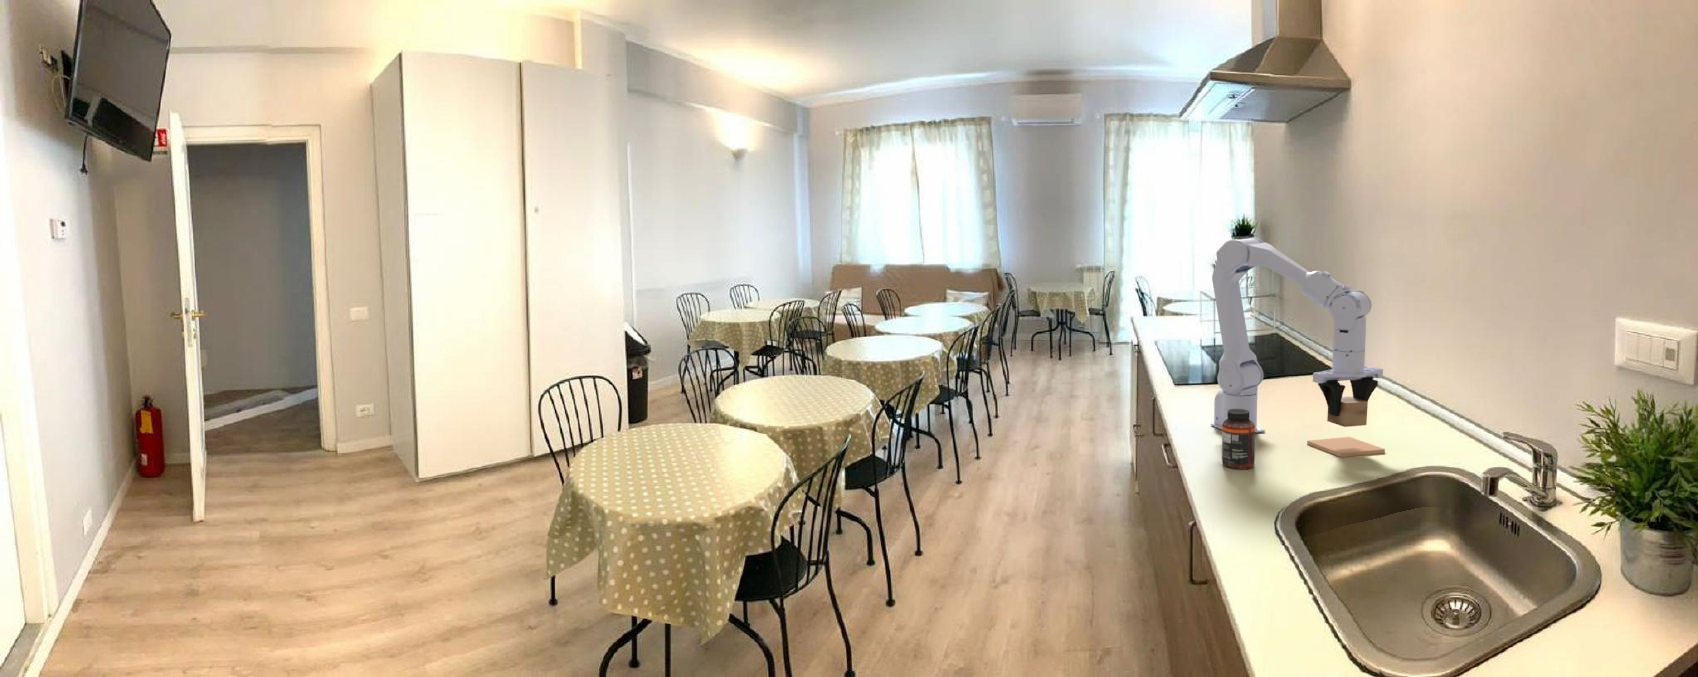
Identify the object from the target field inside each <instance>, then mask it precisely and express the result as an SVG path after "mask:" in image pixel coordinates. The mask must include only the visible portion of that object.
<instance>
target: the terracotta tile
mask: <svg viewBox="0 0 1698 677" xmlns="http://www.w3.org/2000/svg"><path fill="white" fill-rule="evenodd" d="M1306 442H1307V443H1306V445H1308V446H1309V447H1310V446H1311V447H1313V448H1316V449H1318V450H1321V451H1324V452H1326V453H1329V454H1331V455H1335V456H1336V457H1339V458H1344V457H1345V458H1346V457H1347V458H1348V457H1355V456H1365V455H1375V454H1376V455H1377V454H1384V453H1386V449H1385V448H1383V447H1380V446H1377V445H1374V444H1372V443H1368V442H1365V441H1363V440H1360V439H1357V438H1354V437H1350V436H1344V437H1333V438H1323V439H1312V440H1310V439H1309V440H1307V441H1306Z"/></svg>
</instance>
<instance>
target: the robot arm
mask: <svg viewBox="0 0 1698 677" xmlns="http://www.w3.org/2000/svg"><path fill="white" fill-rule="evenodd" d="M1215 255H1216V261H1215V266H1214V269H1213V273H1212V276H1211V279H1212V286H1213V292H1214V297H1215V298H1214V299H1215V305H1216V311H1217V316H1218V323H1219V324H1218V325H1219V329H1220V335H1221V342H1222V343H1221V344H1222V347H1223V353H1222V355H1221V358H1220V359H1219V361H1218V366H1219V367H1218V368H1219V369H1218V370H1219V371H1218V373H1217V377H1216V378H1217V384H1218V387H1219V388H1221V389H1220V390H1219V391H1218V392H1217V393H1216V394H1215V397H1214V409H1213V410H1214V412H1213V413H1214V414H1213V415H1214V416H1213V421H1214V422H1211V423H1210V425H1211V426H1212V427H1215V428H1217V429H1219V430H1222V424H1223V422H1224V421H1225V420H1227V419H1228V417H1227V415H1228V410H1230V409H1245V410H1248V411H1249V412H1250V413H1249V416H1250V417H1249V420H1250V421H1252V422H1253V423H1254V425H1255V434H1256V433H1265V432H1266V429H1264V428H1262V427H1259V426H1257V425H1258V421H1257V420H1258V386H1259V385H1261V384H1262V382H1263V380H1264V371H1263V368H1262V367H1261V365H1259V362H1258V359H1257V355H1256V354H1255V353H1254V352H1253V350H1251V348H1250V344H1249V337H1248V331H1247V326H1246V317H1245V311H1244V306H1243V300H1242V299H1243V298H1242V294H1241V288H1240V281H1241V280H1242V278H1243V277H1244V276H1245V275H1246V274H1247V273H1248V272H1249V271H1250V270H1252V269H1253V268H1255V267H1264V268H1265V267H1266V268H1269V269H1270V270H1272V271H1273V272H1275V273H1276V274H1279V275H1281V276H1283V277H1285V278H1286V279H1289V280H1291V281H1292V282H1293V283H1295V284H1297V285H1299V290H1300V293H1301V294H1302V295H1304V296H1305V297H1308V299H1310V300H1312V301H1313V302H1316V303H1317V304H1319V305H1320V306H1321V307H1323V308H1325V309H1326V310H1328V312H1329V314H1330V316H1331V317H1332V319H1333V338H1332V366H1331V367H1332V368H1331V369H1327V370H1323V371H1317V372H1312V382H1313V383H1317V385H1318V387H1319V389H1320V391H1321V392H1322V395H1323V397H1324V399H1325V401H1326V405H1327V410H1328V409H1329V414H1330V415H1333V416H1339V415H1340V409H1341V399H1342V397H1343V394H1344V391H1345V389H1346V386H1345V385H1343V384H1341V383H1340V382H1343V381H1350V386H1351V392H1352V397H1353V398H1357V399H1361V400H1364V401H1368V402H1369V400H1370V398H1371V396H1372V393H1373V392H1374V391H1375V390H1376V388H1378V385H1379V380H1376V379H1383V376H1384V369H1383V368H1378V367H1365V362H1366V361H1365V360H1366V336H1367V335H1366V334H1367V328H1366V327H1367V315H1369V314H1370V312H1371V309H1372V306H1373V304H1372V299H1371V298H1370V297H1369V295H1368V294H1366V293H1365V292H1364V291H1363V290H1360V289H1359V290H1358V289H1354V290H1351V289H1352V286H1350V285H1348V284H1345V285H1344V284H1343V283H1341V282H1339V281H1337V280H1336V279H1335V278H1332V277H1331V276H1332V274H1331V273H1330V272H1329V271H1327V270H1325V271H1320V270H1314V271H1309V270H1307V269H1306V268H1305V267H1303V266H1302V265H1300V264H1299V263H1297V262H1296V261H1294V260H1293V259H1291V258H1290V257H1288V256H1287V255H1286V254H1284V253H1282V252H1281V251H1279V250H1278V249H1277V248H1275V247H1274V246H1273V245H1272V244H1270V243H1268V242H1264V241H1263V240H1262V239H1260V238H1258V237H1249V238H1242V239H1230V240H1228V241H1227V240H1226V241H1225V243H1223V245H1222V246H1221V247H1220V248H1219V249H1218V250H1216V253H1215Z"/></svg>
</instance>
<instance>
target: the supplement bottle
mask: <svg viewBox="0 0 1698 677" xmlns="http://www.w3.org/2000/svg"><path fill="white" fill-rule="evenodd" d="M1249 413H1250V412H1249V411H1248V410H1245V409H1230V410H1228V415H1227V417H1228V419H1227V420H1225V421H1224V422H1223V424H1222V429H1221V432H1222V433H1221V434H1222V435H1221V436H1222V437H1221V440H1222V441H1221V442H1222V444H1221V452H1222V453H1221V459H1222V460H1221V462H1222V465H1223V466H1224V467H1227V468H1230V469H1236V470H1247V469H1251V468H1253V467H1254V466H1255V455H1256V453H1255V451H1256V450H1255V449H1256V448H1255V440H1256V439H1255V438H1256V437H1255V436H1256V433H1255V425H1254V423H1253V422H1252V421H1250V420H1249V417H1250V416H1249Z"/></svg>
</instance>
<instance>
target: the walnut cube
mask: <svg viewBox="0 0 1698 677" xmlns="http://www.w3.org/2000/svg"><path fill="white" fill-rule="evenodd" d="M1368 403H1369V400H1368V401H1364V400H1361V399H1357V398H1353V396H1350V395H1349V396H1342V399H1341V409H1340V415H1339V416H1333V415H1330V414H1329V409H1328V408H1327V418H1326V419H1327V420H1326V421H1327V422H1329V423H1332V424H1335V425H1337V426H1340V427H1344V428H1349V427H1360V426H1367V424H1368V423H1367V422H1368V421H1367V420H1368V406H1369V405H1368Z"/></svg>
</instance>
